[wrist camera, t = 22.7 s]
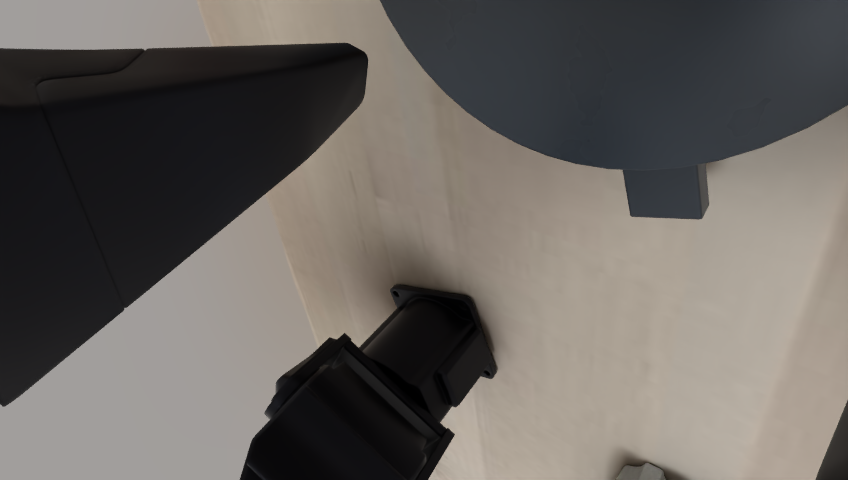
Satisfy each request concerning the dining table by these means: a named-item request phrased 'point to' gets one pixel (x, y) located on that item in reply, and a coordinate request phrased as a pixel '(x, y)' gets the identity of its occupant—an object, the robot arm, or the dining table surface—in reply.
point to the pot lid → (634, 72)
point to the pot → (668, 192)
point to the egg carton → (641, 473)
